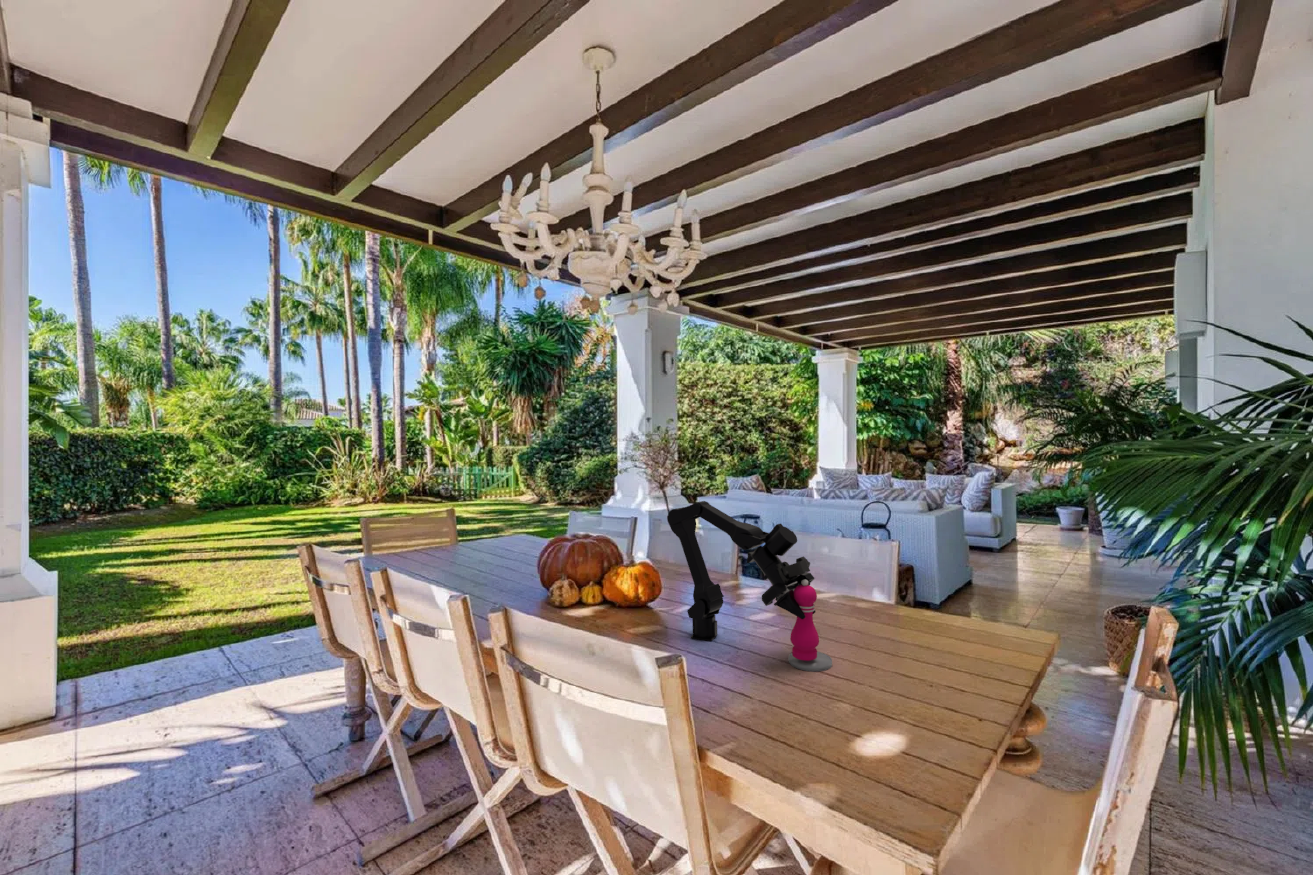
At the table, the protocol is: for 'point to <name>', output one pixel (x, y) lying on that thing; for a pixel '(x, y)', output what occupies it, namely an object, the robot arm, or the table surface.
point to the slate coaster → (812, 663)
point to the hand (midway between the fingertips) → (809, 615)
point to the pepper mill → (805, 624)
